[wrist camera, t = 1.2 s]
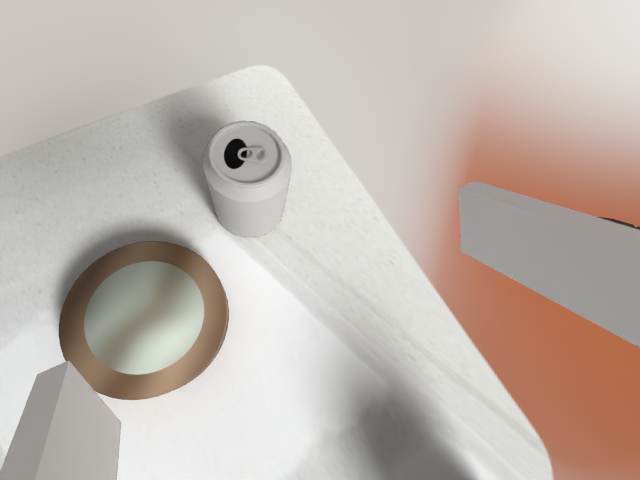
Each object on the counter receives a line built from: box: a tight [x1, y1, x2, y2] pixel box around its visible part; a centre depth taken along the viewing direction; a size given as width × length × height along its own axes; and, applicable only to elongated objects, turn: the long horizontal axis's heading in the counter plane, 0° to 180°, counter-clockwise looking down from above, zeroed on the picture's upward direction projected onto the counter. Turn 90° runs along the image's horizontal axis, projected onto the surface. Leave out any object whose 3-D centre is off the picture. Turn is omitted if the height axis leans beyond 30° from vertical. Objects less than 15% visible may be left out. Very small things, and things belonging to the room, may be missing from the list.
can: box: [203, 121, 292, 238], centre depth 34 cm, size 8×8×12 cm
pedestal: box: [59, 241, 229, 400], centre depth 33 cm, size 14×14×3 cm
